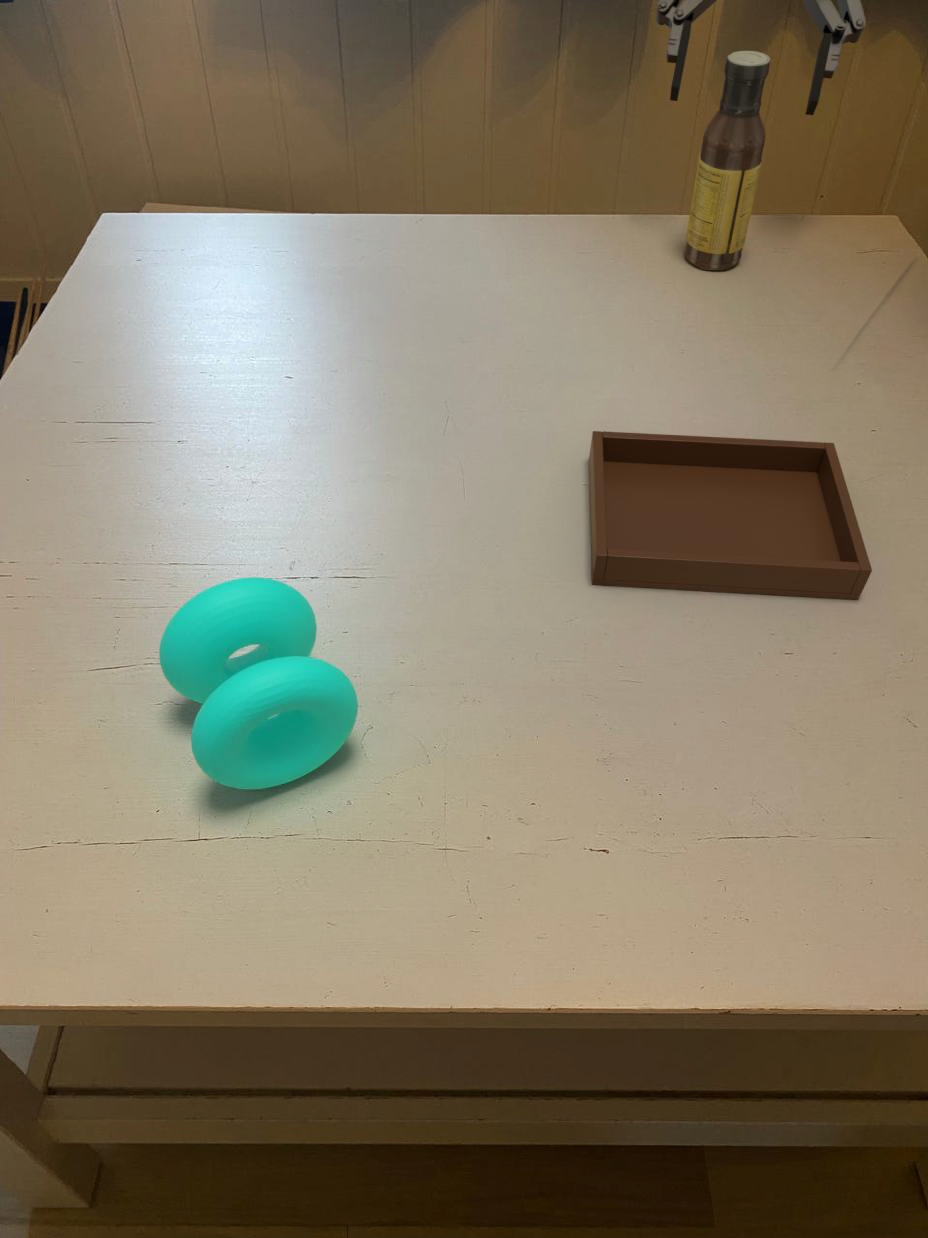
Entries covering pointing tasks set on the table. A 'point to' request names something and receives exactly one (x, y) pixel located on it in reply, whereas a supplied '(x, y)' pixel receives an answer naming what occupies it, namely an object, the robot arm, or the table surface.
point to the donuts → (256, 684)
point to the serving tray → (723, 516)
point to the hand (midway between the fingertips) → (742, 101)
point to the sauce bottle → (728, 166)
